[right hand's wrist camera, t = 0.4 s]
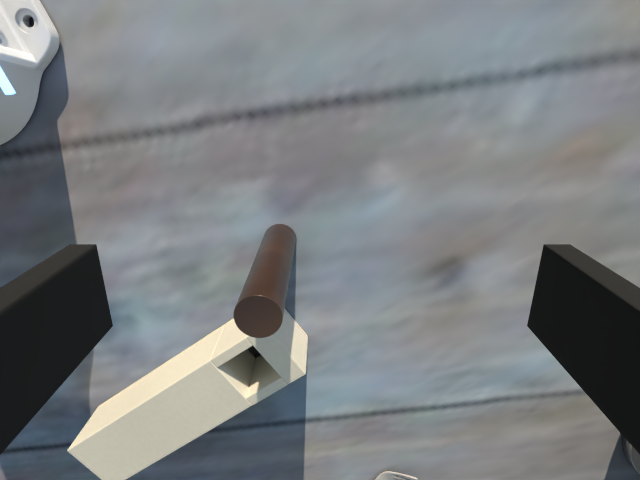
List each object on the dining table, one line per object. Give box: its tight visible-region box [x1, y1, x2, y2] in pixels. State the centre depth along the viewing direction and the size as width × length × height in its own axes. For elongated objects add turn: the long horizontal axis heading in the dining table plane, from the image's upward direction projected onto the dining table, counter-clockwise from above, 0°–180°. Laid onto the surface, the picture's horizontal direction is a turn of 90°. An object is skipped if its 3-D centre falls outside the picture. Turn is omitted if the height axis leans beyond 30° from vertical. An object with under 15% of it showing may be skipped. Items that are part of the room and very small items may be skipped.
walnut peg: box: [234, 224, 296, 338], centre depth 31 cm, size 3×3×14 cm
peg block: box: [67, 309, 308, 480], centre depth 40 cm, size 6×24×6 cm, turn 125°
